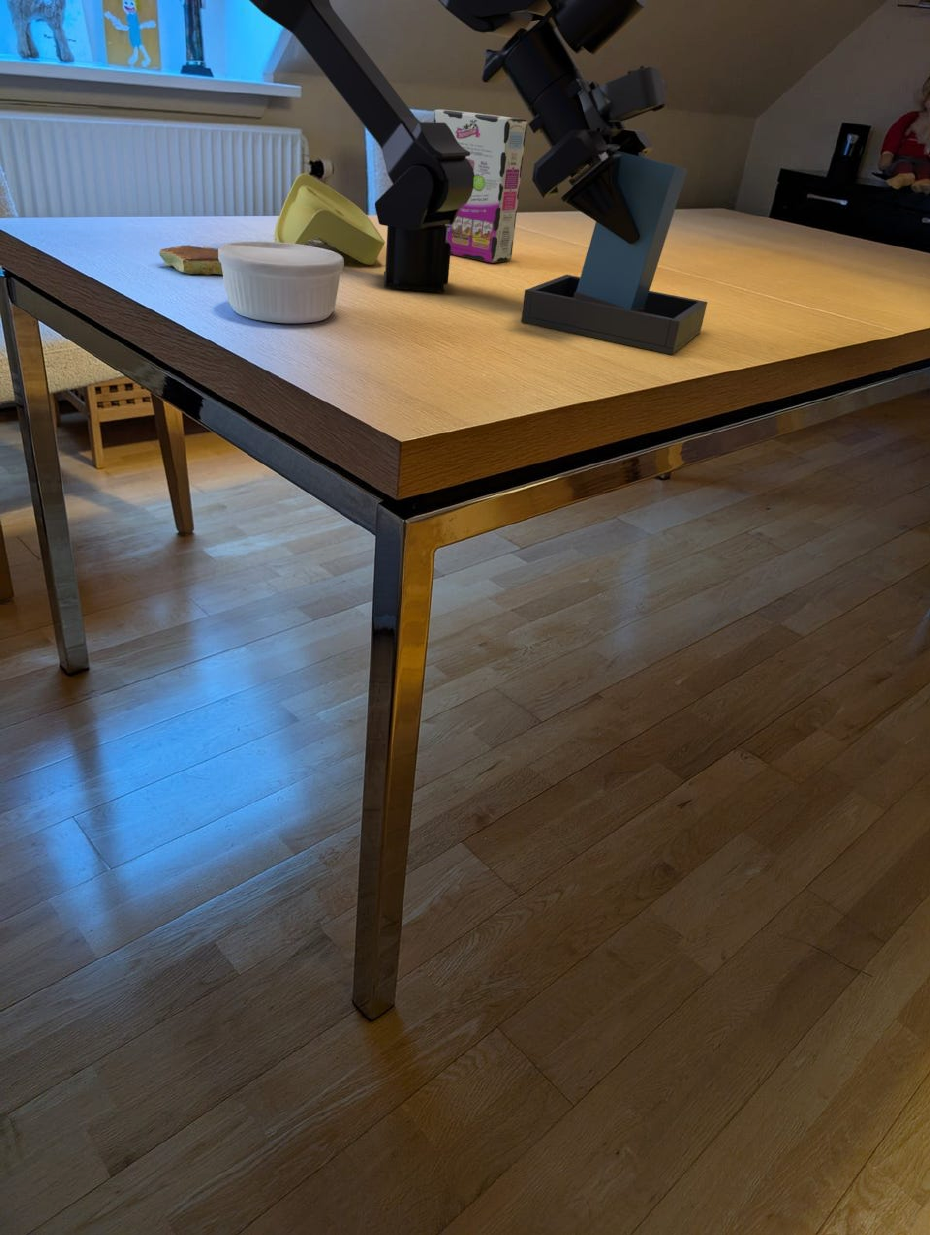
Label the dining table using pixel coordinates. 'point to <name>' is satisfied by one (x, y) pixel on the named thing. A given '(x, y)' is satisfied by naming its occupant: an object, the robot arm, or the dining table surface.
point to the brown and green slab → (192, 259)
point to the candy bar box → (487, 183)
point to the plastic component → (327, 221)
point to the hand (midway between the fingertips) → (642, 239)
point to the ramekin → (280, 280)
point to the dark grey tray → (615, 316)
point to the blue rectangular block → (630, 268)
